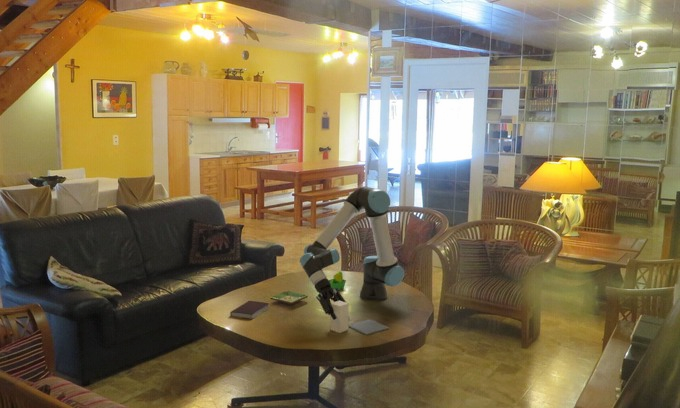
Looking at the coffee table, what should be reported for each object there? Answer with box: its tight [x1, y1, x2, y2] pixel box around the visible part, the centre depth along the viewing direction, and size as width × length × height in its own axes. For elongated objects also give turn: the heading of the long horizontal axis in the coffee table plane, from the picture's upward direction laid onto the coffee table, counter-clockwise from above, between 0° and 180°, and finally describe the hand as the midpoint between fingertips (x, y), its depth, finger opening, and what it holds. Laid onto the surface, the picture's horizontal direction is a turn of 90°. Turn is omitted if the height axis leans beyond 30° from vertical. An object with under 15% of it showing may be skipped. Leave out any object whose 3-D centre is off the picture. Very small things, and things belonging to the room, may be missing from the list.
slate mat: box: [348, 318, 390, 336], centre depth 283 cm, size 14×14×1 cm
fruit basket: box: [328, 270, 347, 291], centre depth 342 cm, size 11×9×11 cm
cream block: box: [329, 301, 350, 334], centre depth 279 cm, size 6×6×13 cm
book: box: [229, 300, 270, 320], centre depth 304 cm, size 13×19×3 cm, turn 160°
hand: (345, 322), depth 277 cm, fingers closed on cream block, 6 cm apart
